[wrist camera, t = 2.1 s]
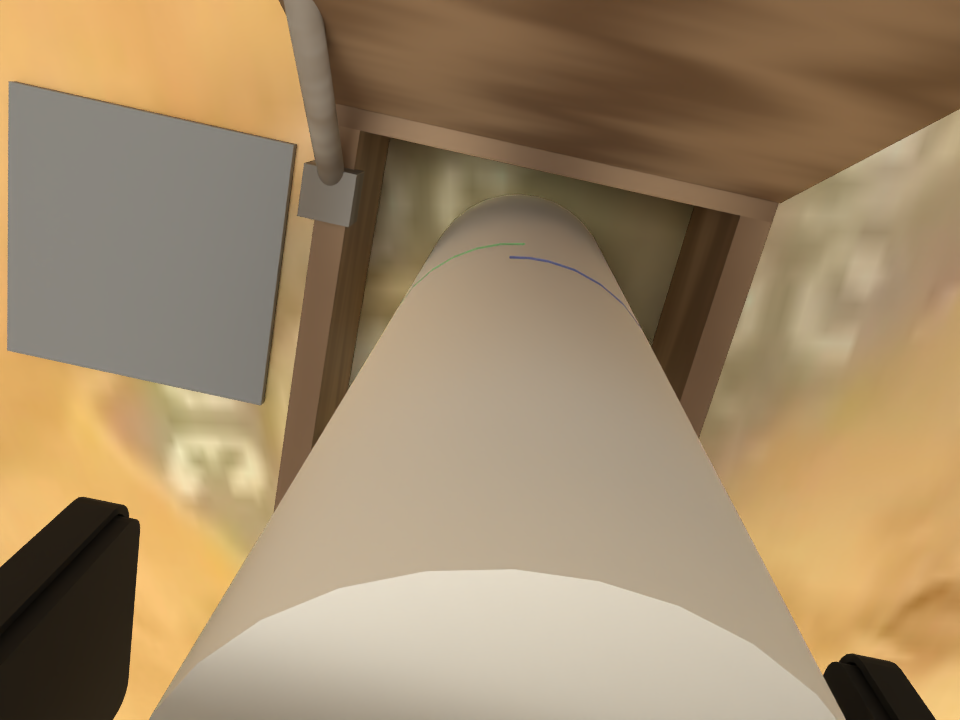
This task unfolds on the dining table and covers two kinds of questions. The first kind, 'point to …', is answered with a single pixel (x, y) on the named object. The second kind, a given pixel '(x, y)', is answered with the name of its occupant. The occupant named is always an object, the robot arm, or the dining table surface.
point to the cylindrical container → (505, 523)
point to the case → (601, 135)
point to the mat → (144, 242)
